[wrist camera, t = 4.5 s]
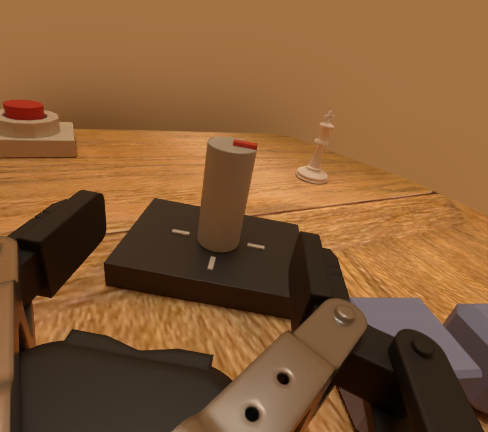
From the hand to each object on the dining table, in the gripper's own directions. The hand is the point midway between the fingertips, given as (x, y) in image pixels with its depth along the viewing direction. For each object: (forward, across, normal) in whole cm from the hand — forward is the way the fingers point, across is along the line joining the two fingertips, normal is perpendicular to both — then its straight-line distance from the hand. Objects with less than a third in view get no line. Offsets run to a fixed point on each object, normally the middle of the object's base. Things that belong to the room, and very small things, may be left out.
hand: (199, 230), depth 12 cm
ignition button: (+26, +27, +6) cm, 38 cm away
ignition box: (+26, +27, +9) cm, 38 cm away
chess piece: (+34, -11, +10) cm, 37 cm away
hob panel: (+10, 0, +9) cm, 14 cm away
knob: (+10, 0, +7) cm, 12 cm away
